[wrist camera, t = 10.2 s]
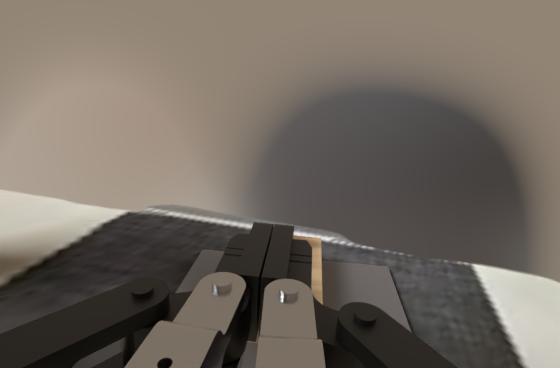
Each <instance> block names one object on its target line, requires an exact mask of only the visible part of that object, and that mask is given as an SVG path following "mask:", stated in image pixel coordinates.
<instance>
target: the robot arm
mask: <svg viewBox="0 0 560 368" xmlns="http://www.w3.org/2000/svg"><path fill="white" fill-rule="evenodd" d="M293 233H294V226H288V225H278V224H275V225H273V224H267V223H257V222H254V224H253V227H252V229H251V232H250V234H249V235H248V234H238V235H236V236H235V237H233V238H232V239H230V241H229V243H228V245H227V248H226V249H225V252H224V254H223V256H222V258H221V260H220V262H219V264H218V266H217V268H216V270H215V272H214V273H213V274H209V275H207V276H205V277H204V278H202V279H201V280H200V282H199V283H198V285H197V286H196V288H195V289H194V290H193V291H189V292H181V293H171V294H169V287H168V285H167V284H166V283H165V282H163V281H161V280H158V279H153V278H145V279H139V280H135V281H132V282H129V283H127V284H124V285H122V286H119V287H117V288H114V289H112V290H109V291H107V292H104V293H102V294H99V295H97V296H94V297H92V298H89V299H87V300H84V301H82V302H79V303H77V304H74V305H72V306H69V307H67V308H64V309H62V310H59V311H57V312H54V313H52V314H49V315H47V316H44V317H42V318H39V319H37V320H34V321H32V322H29V323H27V324H24V325H22V326H19V327H17V328H14V329H12V330H9V331H7V332H4V333H1V334H0V368H72V367H73V365H74V364H75V363H76V362H78V361H79V360H80V359H82V358H84V357H86V356H88V355H90V354H92V353H94V352H96V351H98V350H100V349H102V348H104V347H106V346H108V345H110V344H112V343H114V342H116V341H118V340H120V341H121V350H122V352H121V353H119V354H117V355H115V356H113V357H111V358H109V359H107V360H105V361H104V362H102V363H100V364H98V365H96V366H94V367H92V368H241V367H242V364H243V355H244V352H245V349H246V345H247V341H253V342H256V339H257V334H258V349H257V358H256V367H255V368H457V367H456V366H454V365H453V364H452V363H450V362H449V361H448V360H447V359H445V358H444V357H443V356H441V355H440V354H439V353H437V352H436V351H435V350H434V349H432V348H431V347H430V346H428V345H427V344H426V343H424V342H423V341H422V340H421V339H419V338H418V337H417V336H415V335H414V334H413V333H411V332H410V331H409V330H408V329H406V328H405V327H404V326H402V325H401V324H400V323H398V322H397V321H396V320H395V319H393V318H392V317H391V316H389V315H388V314H387V313H385V312H384V311H383V310H381V309H380V308H378V307H376V306H374V305H372V304H368V303H364V302H351V303H348V304H345V305H344V306H342V307H341V308H340V310H339V311H337V310H334V309H331V308H329V307H326V306H325V305H323V304H321V303H320V302H319V301H317V300H316V298H315V297H314V296H313V294H312V290H311V284H312V247H311V245H310V244H309V243H308V241H307V240H299V239H293ZM258 330H259V333H258Z"/></svg>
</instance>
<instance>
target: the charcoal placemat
mask: <svg viewBox="0 0 560 368" xmlns="http://www.w3.org/2000/svg"><path fill="white" fill-rule="evenodd" d="M224 252H225V251H216V250H206V249H203V250H202V251H201V253H200V254H199V256H198V258H197V259H196V261H195V262H194V264H193V265H192V267H191V269H190V270H189V272H188V273H187V275H186V276H185V278H184V280H183V281H182V283H181V284H180V286H179V287H178V289H177V291H176V292H175V293H181V292H189V291H193V290H194V289H195V288H196V286H197V285H198V283H199V282H200V280H201V279H202V278H204V277H205V276H207V275H209V274H213V273H214V272H215V270H216V268H217V266H218V264H219V262H220V260H221V258H222V256H223V254H224ZM322 298H323V305H325V306H326V307H329V308H331V309H334V310H337V311H339V310H340V308H341V307H342V306H344V305H345V304H348V303H351V302H364V303H368V304H372V305H374V306H376V307H378V308H380V309H381V310H383V311H384V312H385V313H387V314H388V315H389V316H391V317H392V318H393V319H395V320H396V321H397V322H398V323H400V324H401V325H402V326H404V327H405V328H406V329H408V330H409V331H410V332H411V329H410V327H409V324H408V321H407V318H406V316H405V313H404V310H403V307H402V305H401V302H400V299H399V296H398V293H397V291H396V288H395V285H394V282H393V280H392V277H391V274H390V271H389V269H388V266H377V265H366V264H356V263H345V262H334V261H323V260H322ZM411 333H412V332H411ZM257 349H258V343H250V342H247V345H246V349H245V352H244V355H243V364H242V367H241V368H255V367H256V358H257Z"/></svg>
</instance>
